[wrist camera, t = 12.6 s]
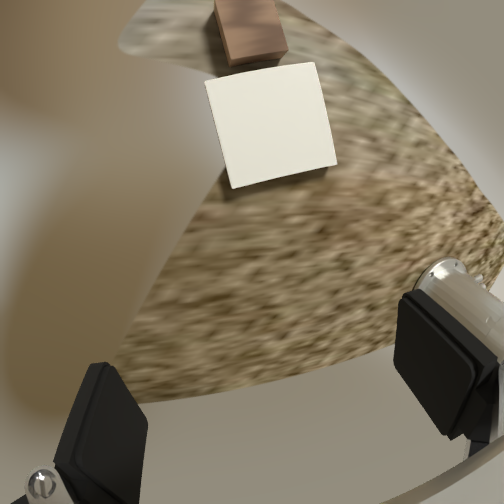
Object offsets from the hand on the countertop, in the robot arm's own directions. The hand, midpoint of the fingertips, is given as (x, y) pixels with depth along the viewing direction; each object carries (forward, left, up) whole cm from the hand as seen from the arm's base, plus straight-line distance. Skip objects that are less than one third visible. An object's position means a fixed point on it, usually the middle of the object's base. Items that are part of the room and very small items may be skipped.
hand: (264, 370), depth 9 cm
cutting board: (-7, -7, -27) cm, 29 cm away
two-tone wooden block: (-7, -15, -26) cm, 30 cm away
